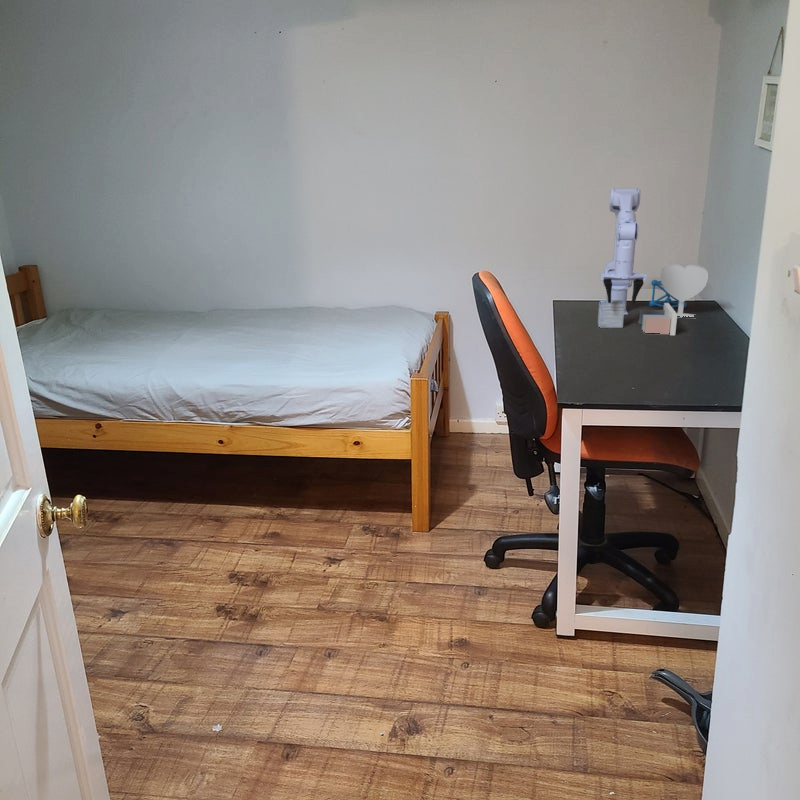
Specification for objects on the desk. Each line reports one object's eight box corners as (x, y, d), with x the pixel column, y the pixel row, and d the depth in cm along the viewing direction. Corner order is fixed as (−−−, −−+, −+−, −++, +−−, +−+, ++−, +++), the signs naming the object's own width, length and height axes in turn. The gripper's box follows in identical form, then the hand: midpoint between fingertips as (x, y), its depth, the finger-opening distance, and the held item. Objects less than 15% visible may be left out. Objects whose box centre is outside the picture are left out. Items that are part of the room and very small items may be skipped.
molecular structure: (668, 303, 304) (670, 276, 301) (687, 308, 296) (690, 281, 292) (647, 306, 300) (650, 279, 297) (667, 311, 292) (669, 284, 288)
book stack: (637, 321, 278) (639, 301, 276) (665, 322, 277) (667, 302, 275) (644, 334, 263) (646, 313, 260) (675, 335, 261) (677, 314, 259)
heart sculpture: (702, 315, 286) (708, 264, 280) (703, 318, 281) (709, 267, 275) (657, 312, 290) (661, 262, 284) (657, 316, 286) (661, 265, 279)
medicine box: (620, 325, 275) (622, 300, 272) (622, 328, 271) (625, 303, 268) (597, 324, 276) (599, 299, 273) (599, 328, 271) (600, 302, 269)
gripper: (602, 262, 256) (599, 304, 260) (650, 263, 254) (646, 305, 259) (600, 258, 262) (597, 299, 267) (646, 259, 260) (642, 300, 265)
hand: (621, 302), depth 263 cm, fingers open, 7 cm apart
